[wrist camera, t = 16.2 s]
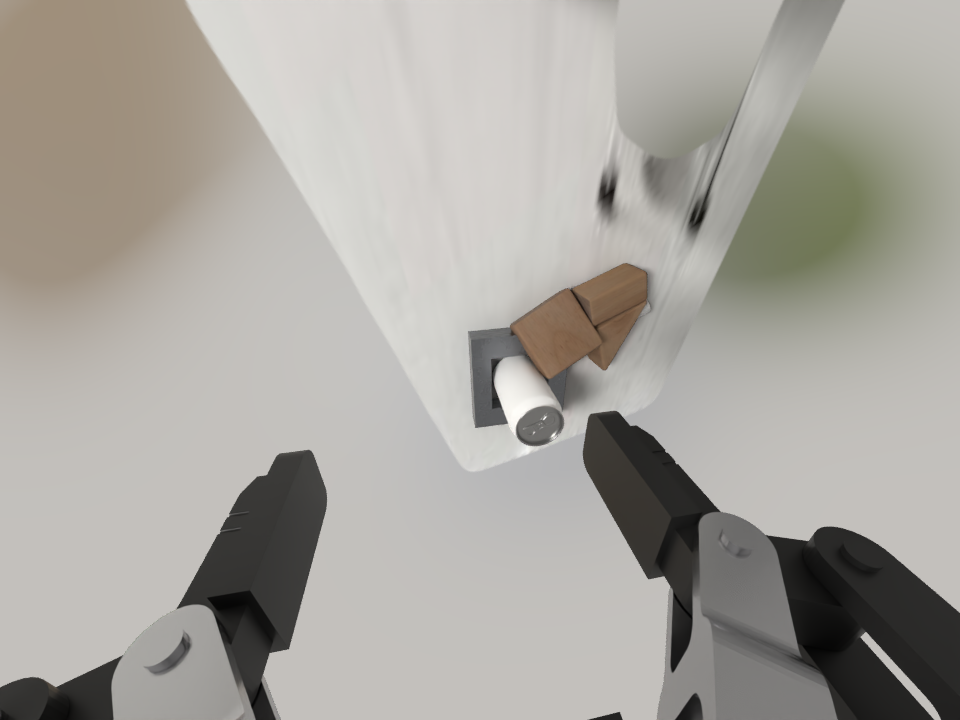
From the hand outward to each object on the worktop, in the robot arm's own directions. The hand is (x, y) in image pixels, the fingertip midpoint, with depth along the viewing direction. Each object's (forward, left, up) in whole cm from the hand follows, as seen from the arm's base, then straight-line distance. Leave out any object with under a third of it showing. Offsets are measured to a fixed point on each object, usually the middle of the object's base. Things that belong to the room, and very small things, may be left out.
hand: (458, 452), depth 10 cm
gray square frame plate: (+18, +11, -33) cm, 39 cm away
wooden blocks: (+11, +19, -34) cm, 40 cm away
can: (+18, +10, -33) cm, 39 cm away
